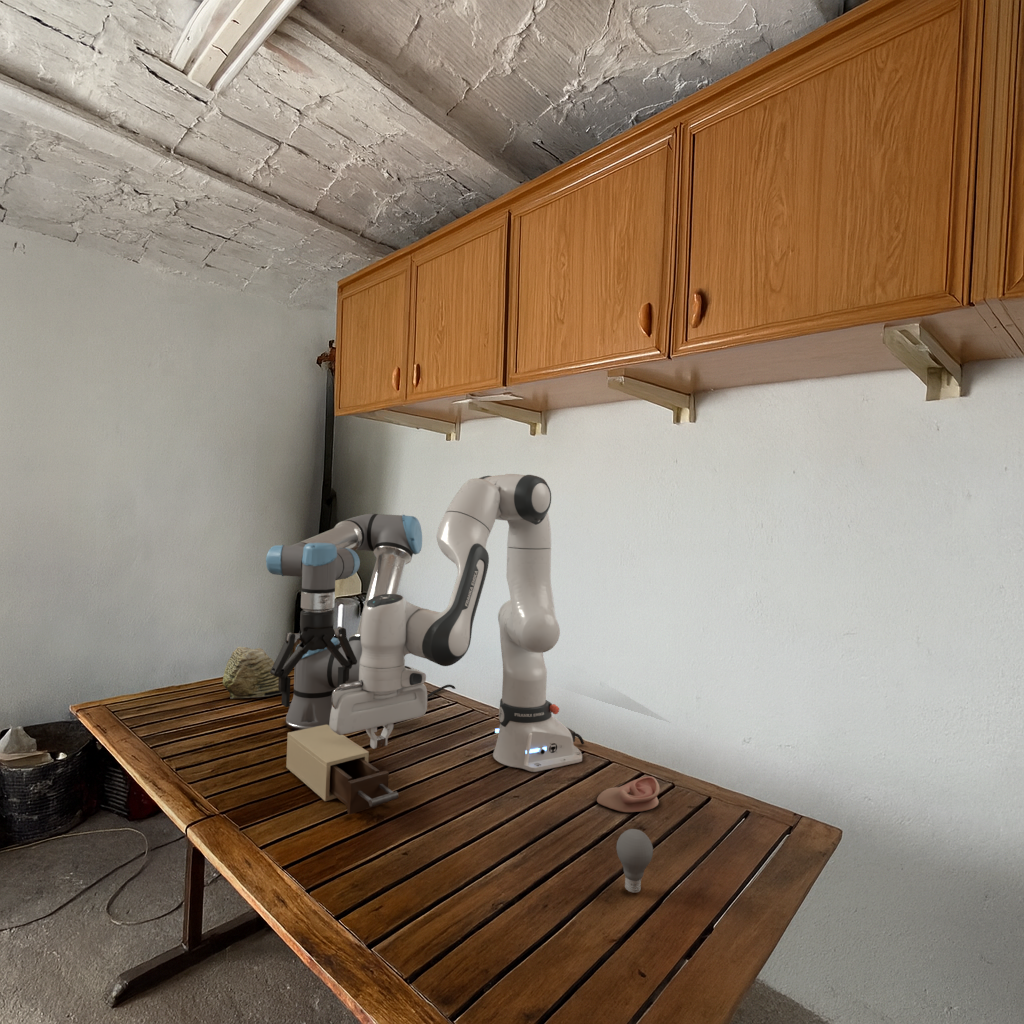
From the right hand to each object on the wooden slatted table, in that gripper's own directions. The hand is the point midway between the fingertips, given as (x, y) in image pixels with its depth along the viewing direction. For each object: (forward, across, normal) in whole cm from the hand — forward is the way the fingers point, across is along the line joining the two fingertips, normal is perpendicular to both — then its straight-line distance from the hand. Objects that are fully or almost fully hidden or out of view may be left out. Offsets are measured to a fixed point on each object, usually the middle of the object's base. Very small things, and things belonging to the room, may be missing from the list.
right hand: (378, 746), depth 126 cm
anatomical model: (+14, +47, -26) cm, 56 cm away
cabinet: (+14, 0, +23) cm, 27 cm away
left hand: (-1, 0, +30) cm, 30 cm away
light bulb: (+14, +22, -46) cm, 53 cm away
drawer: (+13, 0, +9) cm, 16 cm away
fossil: (+14, +8, +90) cm, 91 cm away
